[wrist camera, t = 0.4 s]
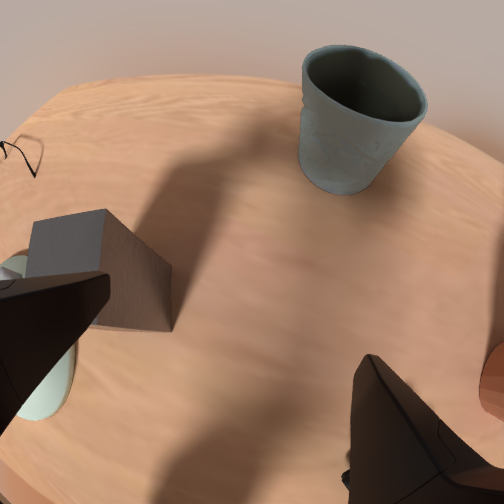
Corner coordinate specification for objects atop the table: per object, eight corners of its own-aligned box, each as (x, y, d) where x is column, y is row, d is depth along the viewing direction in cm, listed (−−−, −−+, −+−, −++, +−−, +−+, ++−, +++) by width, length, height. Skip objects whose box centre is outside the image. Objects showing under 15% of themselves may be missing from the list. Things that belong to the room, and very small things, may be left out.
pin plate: (106, 370, 21) (80, 374, 17) (24, 439, 18) (2, 445, 14) (38, 226, 26) (16, 212, 22) (-27, 314, 23) (-47, 309, 18)
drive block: (171, 332, 22) (97, 325, 11) (113, 330, 23) (22, 318, 11) (171, 264, 24) (106, 205, 13) (115, 267, 24) (34, 219, 13)
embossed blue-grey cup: (373, 136, 28) (408, 61, 17) (385, 211, 25) (445, 139, 14) (290, 124, 29) (300, 36, 17) (287, 199, 26) (304, 107, 14)
